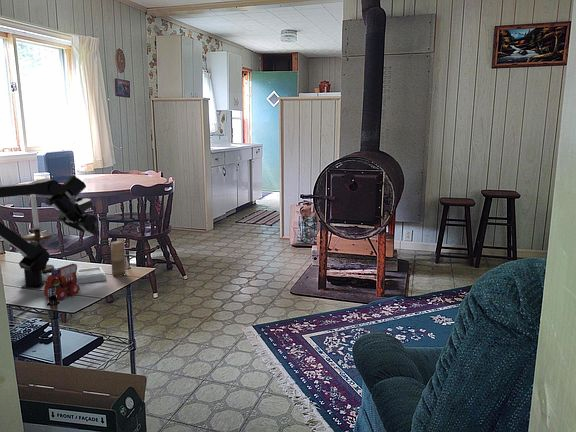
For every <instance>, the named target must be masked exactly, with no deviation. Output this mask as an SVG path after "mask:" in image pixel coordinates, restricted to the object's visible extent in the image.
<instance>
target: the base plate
mask: <svg viewBox="0 0 576 432" xmlns="http://www.w3.org/2000/svg"><path fill="white" fill-rule="evenodd" d="M76 275H77V284H78V285H80V284H85V283H86V284H87V283H93V282H101V281H102V282H103V281H106V280H107V276H106V273H105V271H104V269H103V267H101V266H96V267H95V266H94V267H87V268H77V271H76Z"/></svg>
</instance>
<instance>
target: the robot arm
mask: <svg viewBox="0 0 576 432" xmlns="http://www.w3.org/2000/svg"><path fill="white" fill-rule="evenodd" d="M86 188H87V184H86V183H85V182H84V181H83V180H81V179H80V178H78V177H77V176H76V175H73V174H71V175H70V176H69V177H68V179H66V180H65V181H64V182H63V183H59V182H58V181H57V180H55V179H50V178H41V179H37V180H34V181H31V182H29V183H16V184H7V185H0V199H1V198H9V197H20V196H27V195H29V196H30V195H31V194H34V195H40V196H50V197H46V198H45V205H46V206H50V207H51V206H53V205H54V207H56V209H57V210H58V214H60V215H59V216H58V221H59V222H60V223H61V224H62V225H64V226H67V227H69V228H72V229H73V230H76V231H79V232H81V233H85V232H87V233H89V234H91V235H93V236H95V237H97V236H98V235H99V232H98V229H97V227H96V222H97V220H98V219H99V218H98V217H97V215H96V214H93V213H86V211H87V210H89V209H92V208H94V207H95V206H94V203H93V200H92V199H91V198H87V197H86V198H85V197H84V198H82V197H78V196H79V195H80V194H81V193H82V192H83V191H84V190H85V189H86ZM71 198H74V202H73V200H72V199H71ZM85 213H86V214H85ZM84 214H85V215H84ZM0 239H1V240H4V242H6V243H8V244H9V245H10V246H12V247H14V248H15V249H16V250H18V251H19V253H20V254H21V256H22V257H23V258H22V259H21V260H20V261H19V262H18V265H19V267H20V269H23V274H24V282H25V283H24V284H23V285H21V289H26V288H27V289H31V288H32V289H34V288H35V289H37V288H38V289H39V288H41V287H43V286H45V284H46V281H47V280H44V277H43V273H42V270H45V268H46V265H48V262H49V260H50V253H49V251H48V248H45V247H43V246H42V244H41V243H40V244H41V245H40V244H39V243H37V242H35V241H26V240H24V239H23V238H22V236H20V235H19V234H17V232H14V231H13V230H12V229H10V228H9V227H8V226H6V225H5V224H4V223H3V222H1V221H0Z"/></svg>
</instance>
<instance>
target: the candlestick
mask: <svg viewBox="0 0 576 432" xmlns="http://www.w3.org/2000/svg"><path fill="white" fill-rule="evenodd" d="M36 195H37V194H30V195H29V196H30V205H31V215H32V222H33V228H30V230H33V232H32V233H28V234H24V235H22V236H21V238H23V239H24V240H26V241H27V242H31V241H33V242H36V243H39V244H40V245H41V246H42V244H41V242H43V240H48V239H51V238H52V237H53V236H54V233H53V232H49V231H48V232H47V231H43V232H41V230H42V229H43V227H40V221H39V214H38V213H39V212H38V203H37V198H36V197H37V196H36ZM53 269H55V265H53V264H46V268H45V270H42V274H44V273H47V272H48V273H49V272H51V271H52V270H53Z"/></svg>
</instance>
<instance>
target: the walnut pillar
mask: <svg viewBox="0 0 576 432" xmlns="http://www.w3.org/2000/svg"><path fill="white" fill-rule="evenodd" d="M110 257H111V261H110V262H111V276H112V275H113V276H112V277H121V276H120V275H124V274H125V275H126V274H127V273H126V253H125V242H124V241H122V240H116V241H112V242H110ZM125 275H124V276H125Z"/></svg>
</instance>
